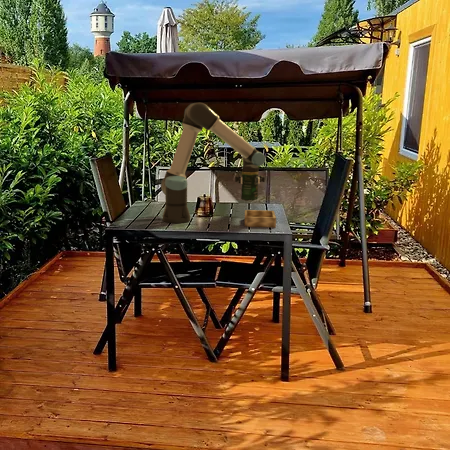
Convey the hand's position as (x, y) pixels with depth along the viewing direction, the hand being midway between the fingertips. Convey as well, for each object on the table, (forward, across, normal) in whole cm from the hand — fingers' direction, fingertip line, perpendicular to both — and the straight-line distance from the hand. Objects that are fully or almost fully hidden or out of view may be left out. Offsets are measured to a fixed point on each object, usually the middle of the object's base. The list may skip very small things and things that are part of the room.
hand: (250, 181), depth 242 cm
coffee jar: (-5, 0, -11) cm, 12 cm away
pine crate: (-4, -5, -23) cm, 24 cm away
